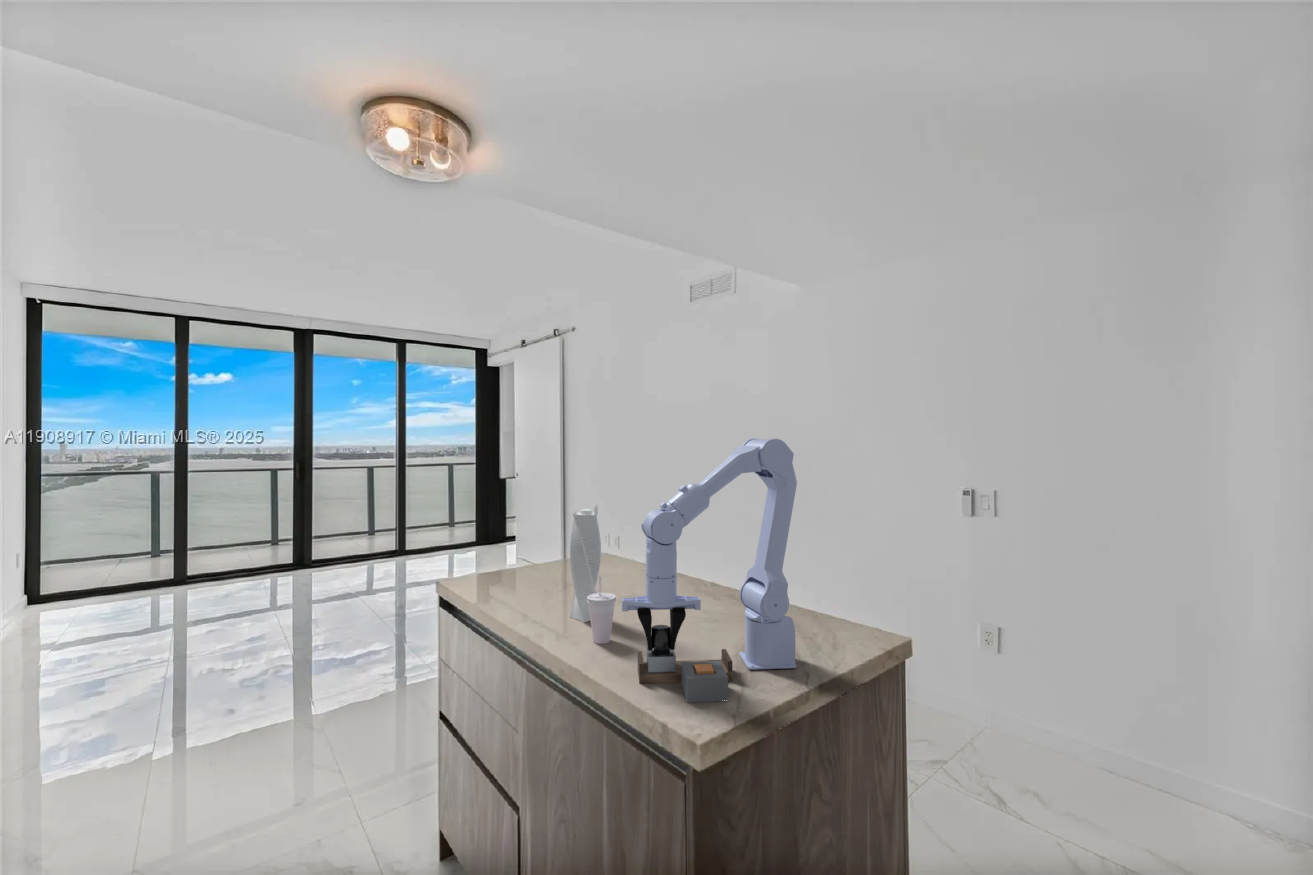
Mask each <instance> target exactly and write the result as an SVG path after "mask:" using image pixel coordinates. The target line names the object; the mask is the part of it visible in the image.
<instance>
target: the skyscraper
mask: <svg viewBox="0 0 1313 875" xmlns="http://www.w3.org/2000/svg"><path fill="white" fill-rule="evenodd" d="M593 509H594V510H592V509H590V508H585V509H584V508H583V509H580V511H579V512H578V510H577V509H575V510H573V512H572V516H573V517H572V518H573V521H572V522H573V523H572V528H571V536H570V541H569V542H570V543H569V545H570V546H569V559H570V560H569V562H570V571H571V579H572V582H573V583H572V584H573V589H574V594H573V600H572V604H571V610H570V615H569V617H570V618H571V619H574V618H575V619H574V620H576V619H577V621H580V622H582V623H586V622H591V619H590V611H589V603H588V602H587V596H588V595H590V594H594V593H597V592H596V587H597V583H598V582H597V581H598V579H599V572H600V566H601V561H602V560H601V556H602V542H601V533H600V526H599V522H598V521H599V520H598V513H599V507H598V504H596V503H595V504H594V506H593Z"/></svg>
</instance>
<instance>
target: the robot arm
mask: <svg viewBox="0 0 1313 875" xmlns="http://www.w3.org/2000/svg"><path fill="white" fill-rule="evenodd" d="M794 455H795V454H794V452H793V451H792V449H791V448H790V447H789V445H787V443H786V442H785V441H783V440H782V439H780V438H770V439H766V438H765V439H763V438H762V439H761V438H749V439H747V440H746V441H744V443H742V444H741V445H739V446H737V447H736V448H735V449H734V450H733V452H731V454H729V455H728V456H727V458H725V459H724V460H723V461H722V462H721V463H720V464H719V465H718V466H717V467H715V469H713V470H712V471H711V472H710V473H708V475H707V476H705V477H704V478H703V479H702V480H701V481H700V482H699V483H698V484H697V483H688V484H687V485H685V484H682V485H680V486H679V487H678V489H677V490H678V492H677V493H675V495H673V496H672V497H671V498H670V499H668V500H667V501H666V502H665V501H662V502H661V503H660V504H659V507H660V509H653V510H650V511H649V512H648V513H647V514H646V515H645V517H644V520H643V523H641V530H642V532H643V534H644V536H645V537H646V538H645V540H646V541H645V542H646V546H645V547H646V548H645V595H643V596H634V597H623V598H621V611H622V612H629V611H637V616H638V619H639V621H640V624H641V626H642V628H643V631H644V635H645V638H646V643H647V644H646V645H647V646H646V647H648V651H652V637H651V634H652V626H653V625H652V622H653V621H652V618H653V617H652V611H656V610H657V611H658V610H662V611H663V610H669V622H670V623H669V624H670V626H669V627H670V649H671V650H674V651H675V649H676V642H677V638H678V634H679V631H680V629H681V627H682V625H683V623H684V621H685V620H686V615H687V613H686V610H695V611H701V607H702V606H701V604H702V603H701V601H702V600H701V598H700V597H699V596H689V595H688V596H685V595H677V593H678V592H677V582H678V581H677V579H678V578H677V574H678V573H677V567H678V566H677V560H678V559H677V556H678V555H677V554H678V552H677V541H678V540H679V539H680V538H681V536H682V533H683V529H684V528H686V526H688V525H689V524H690V523H691V522H692V521H694V520H695V519H697V517H699V516H700V515H701V514H702V513H703V512H704V511H705V510H706V509H708V508H709V506H710V502H711V501H710V500H711V497H713V495H716V493H718V492H719V491H721V490H722V489H723V488H724V487H726V486H727V485H728V484H730V483H731V482H732V481H734V480H735V479H736V478H738V477H740V475H741V474H746V473H747V474H748V473H755V474H756V475H757V476H758V477H759V478H760V479H761V481H762V482H763V483H764V484H765V486H766V487H767V491H766V497H765V503H764V508H763V515H762V520H761V526H760V532H759V536H758V543H757V544H758V545H757V548H756V555H755V559H754V564H753V565H752V566H751V567H750V568H749V569H748V571H747V572H746V576H745V580H744V581H743V583H742V584H741V586H740V589H739V592H738V593H739V600H740V603H741V604H742V605H743V606H744V608H745V609H744V637H745V638H744V651H739V654H738V655H739V656H740V658H741V660H742V661H743V663H744V664H745V666H746V668H747V669H748V670H774V669H775V670H776V669H779V670H780V669H796V668H797V664H796V630H795V629H796V628H795V624H794V621H793V620H794V619H793V618H792V617H791V616H789V615H786V614H787V613H788V611H789V608H790V598H789V595H788V589H789V583H788V581H787V578H786V576H785V574H784V572H783V566H784V561H785V557H786V550H787V545H788V539H789V532H790V528H791V521H792V515H793V509H794V502H795V497H796V493H797V492H796V490H797V485H798V484H797V483H798V482H797V475H796V472H795V468H794V464H793V462H794ZM651 610H652V611H651Z"/></svg>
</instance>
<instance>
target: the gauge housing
mask: <svg viewBox="0 0 1313 875" xmlns="http://www.w3.org/2000/svg"><path fill="white" fill-rule="evenodd" d="M694 664H711V665H712V667H713V669H714V674H695V672H694ZM680 683H681V688H682V691H683V694H684V698H685V701H686V703H687V704H688V703H712V702H713V703H715V702H714V701H721V702H725V701H724V700H728V701H729V681H728V676H727V674H726V672H725V670H724V668H723V666H722V664H721V662H720V661H707V662H682V663H681V682H680ZM722 700H723V701H722Z"/></svg>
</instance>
